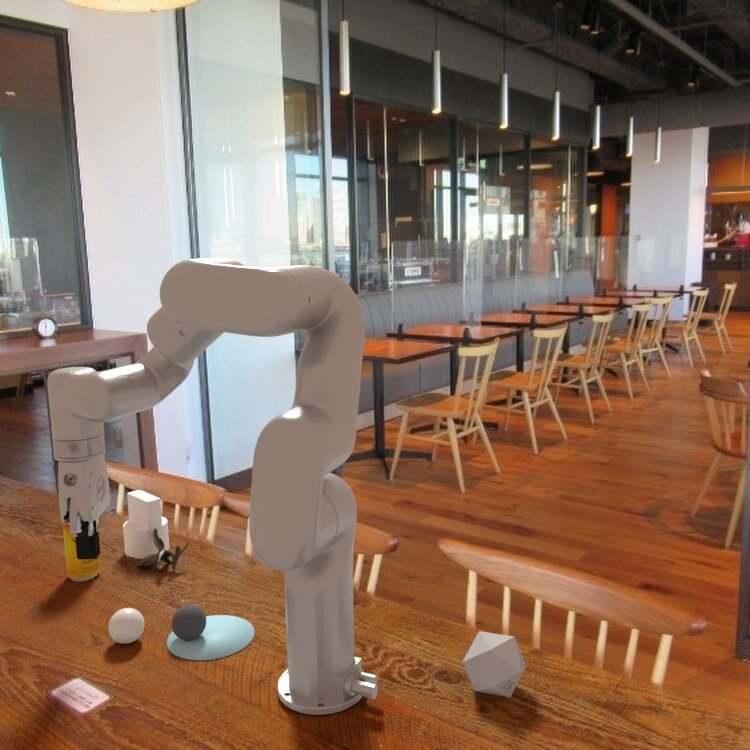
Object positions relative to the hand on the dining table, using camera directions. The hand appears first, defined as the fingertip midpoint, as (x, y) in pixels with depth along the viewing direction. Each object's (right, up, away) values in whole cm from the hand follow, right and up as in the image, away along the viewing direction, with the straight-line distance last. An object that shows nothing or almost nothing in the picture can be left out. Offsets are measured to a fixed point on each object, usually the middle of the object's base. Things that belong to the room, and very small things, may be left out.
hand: (88, 557), depth 118 cm
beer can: (-11, -10, +26) cm, 30 cm away
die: (+63, -16, -13) cm, 66 cm away
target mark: (+19, -14, +2) cm, 24 cm away
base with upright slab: (-2, -8, +38) cm, 39 cm away
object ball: (+16, -11, +1) cm, 19 cm away
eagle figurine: (+3, -10, +30) cm, 32 cm away
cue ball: (+6, -11, +1) cm, 13 cm away
